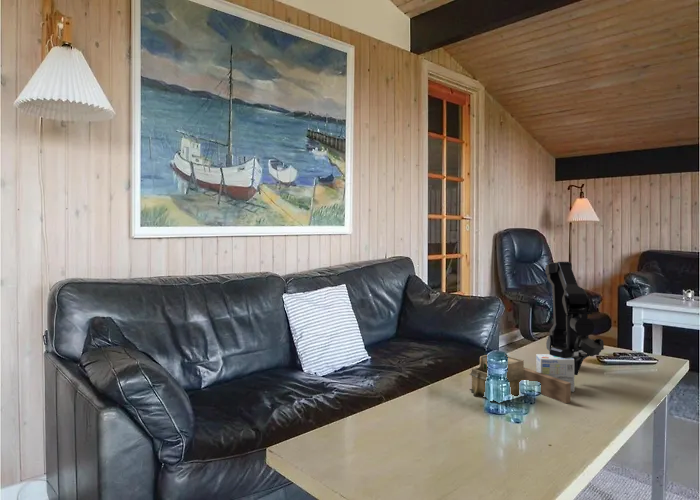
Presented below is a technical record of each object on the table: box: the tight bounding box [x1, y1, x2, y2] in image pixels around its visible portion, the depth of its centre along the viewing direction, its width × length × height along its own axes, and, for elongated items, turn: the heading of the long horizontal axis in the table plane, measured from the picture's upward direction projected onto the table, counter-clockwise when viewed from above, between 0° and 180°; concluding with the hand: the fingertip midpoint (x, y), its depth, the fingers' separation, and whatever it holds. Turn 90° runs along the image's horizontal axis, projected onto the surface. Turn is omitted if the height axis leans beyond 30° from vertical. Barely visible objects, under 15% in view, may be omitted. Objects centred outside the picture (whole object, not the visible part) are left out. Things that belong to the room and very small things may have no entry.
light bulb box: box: [535, 353, 575, 393], centre depth 159 cm, size 11×7×11 cm, turn 83°
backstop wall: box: [524, 367, 572, 404], centre depth 156 cm, size 22×2×6 cm, turn 26°
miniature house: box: [469, 354, 526, 398], centre depth 156 cm, size 15×14×11 cm
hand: (575, 374), depth 164 cm, fingers closed
